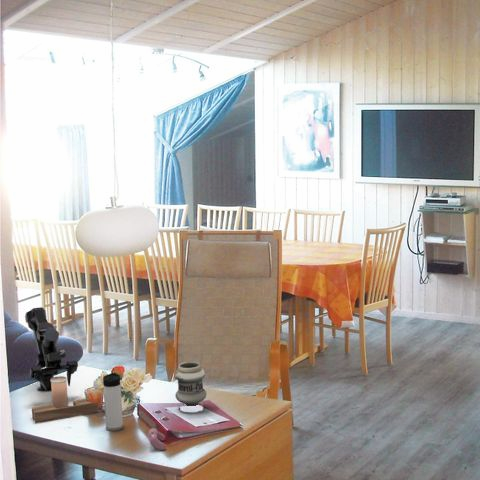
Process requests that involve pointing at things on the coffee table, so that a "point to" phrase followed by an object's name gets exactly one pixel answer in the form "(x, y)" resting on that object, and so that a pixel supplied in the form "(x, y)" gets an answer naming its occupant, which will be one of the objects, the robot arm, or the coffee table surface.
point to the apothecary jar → (190, 383)
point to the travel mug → (113, 402)
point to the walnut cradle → (63, 411)
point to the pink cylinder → (59, 392)
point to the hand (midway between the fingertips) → (57, 387)
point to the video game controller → (156, 439)
